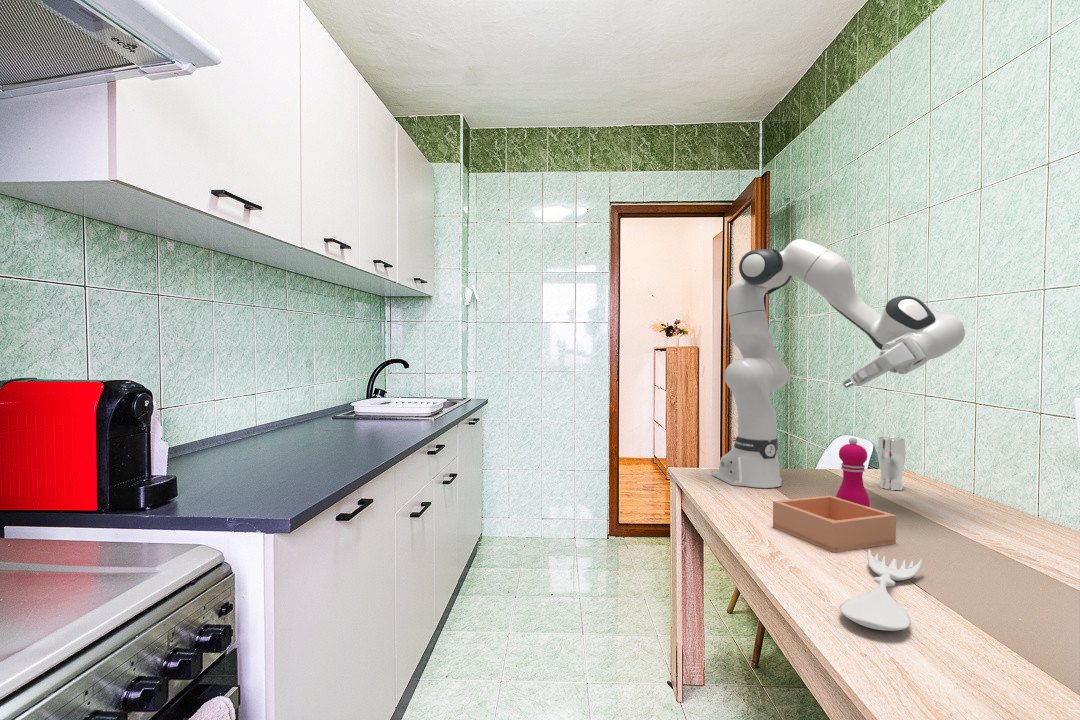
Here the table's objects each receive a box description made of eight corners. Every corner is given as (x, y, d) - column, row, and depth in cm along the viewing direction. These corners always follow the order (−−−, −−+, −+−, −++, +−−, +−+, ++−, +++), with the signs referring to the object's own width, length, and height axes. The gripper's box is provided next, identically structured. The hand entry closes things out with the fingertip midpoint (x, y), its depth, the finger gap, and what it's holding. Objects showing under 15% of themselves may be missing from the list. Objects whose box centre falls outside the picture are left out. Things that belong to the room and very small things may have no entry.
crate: (772, 527, 126) (773, 501, 126) (829, 520, 132) (829, 495, 132) (833, 552, 110) (834, 523, 110) (895, 543, 116) (896, 515, 115)
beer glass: (872, 487, 165) (872, 437, 165) (886, 484, 168) (887, 436, 168) (895, 492, 158) (896, 441, 158) (910, 489, 161) (910, 439, 161)
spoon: (924, 576, 99) (924, 557, 99) (907, 650, 74) (907, 625, 74) (867, 564, 105) (867, 546, 105) (833, 629, 80) (833, 606, 80)
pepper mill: (860, 515, 135) (861, 435, 135) (875, 525, 128) (876, 440, 128) (830, 514, 136) (831, 435, 136) (843, 524, 129) (844, 439, 128)
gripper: (875, 357, 149) (829, 380, 149) (911, 333, 129) (859, 359, 130) (889, 376, 147) (843, 400, 147) (929, 355, 127) (876, 382, 128)
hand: (851, 381), depth 138 cm, fingers open, 8 cm apart
